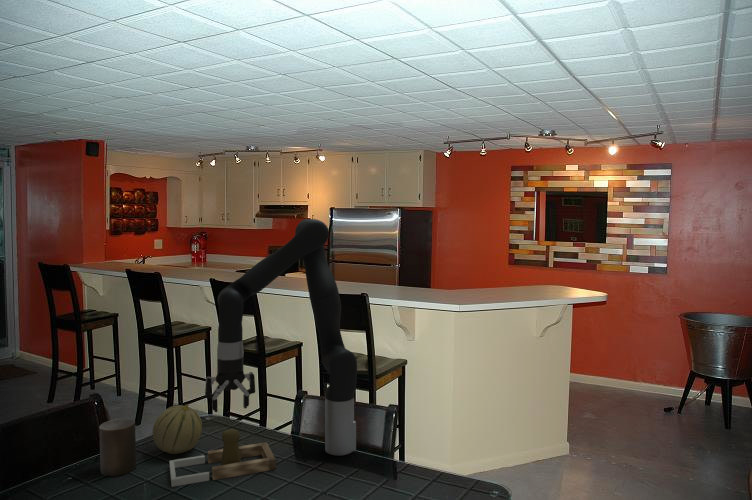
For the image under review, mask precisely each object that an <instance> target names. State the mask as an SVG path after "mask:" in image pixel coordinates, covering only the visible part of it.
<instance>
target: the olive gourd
mask: <svg viewBox="0 0 752 500" xmlns="http://www.w3.org/2000/svg"><path fill="white" fill-rule="evenodd" d="M240 437H241V435H240V432H239V430H237V429H234V428H233V429H231V428H229V429H226V430H225V431H223V432H222V435H221V440H222V442H223V446H222V447H223V448H222V449H223V453H222V461H221V462H220V463H221V464H220V465H227V464H233V463H239V462H242V461H241V459H242V458H240V452H239V446H240V444H239V440H240Z"/></svg>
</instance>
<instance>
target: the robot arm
mask: <svg viewBox="0 0 752 500" xmlns="http://www.w3.org/2000/svg"><path fill="white" fill-rule="evenodd" d="M329 236H330V231H329V227H328V226H327V224H326V223H325V222H323V221H321V220H320V219H315V218H305V219H302V220H301V221H300V222H299V223H298V224H297V225H296V228H295V232H294V236H293V237H292V238H291V239H290V240H289V241H288V242H287V243H286V244H285V245H283V246H281V248H278V249H277V250H276V251H274V252H273V253H271V254H269V255H267V256H265V258H263V259H261V260H260V261H258V262H257V263H255V265H253V266H252V267H251V268H249V269H248V270H247V271H246V272H245V273H244V274H243V275H241V276H240V277H239V278H237V279H235V280H234V281H233V282H231V283H230V284H228V285H227V286H226V287H224V288H223V289H222V290H221V291H220V292H219V294H218V296H217V299H216V300H217V301H216V302H217V304H218V319H219V323H218V326H217V327H218V328H217V348H216V349H217V350H216V351H217V352H216V357H217V360H216V361H217V362H216V364H217V367H216V369H217V370H216V376H209V375H208V376H206V377H205V390H204V392H205V393H204V395H205V398H206V399H209V400H211V409H212V411H214V413H218V398H219V396H220V395H221V394H222V393H223V392H224V391H225V392H227V391H237V389H239V390H240V391H241V392H242V393H243V395H242V397H243V399H242V401H243V402H242V403H243V409H247V408H248V407H249V405H250V395H252V394H255V393H256V383H255V382H256V381H255V380H256V379H255V374H254V372H252V371H250V372H248V373H244V354H245V352H244V344H243V332H244V331H243V316H244V315H243V314H244V302H246V300H248V299H249V298H251V297H252V296H253V295H257V294H258V293H260V292H262V291H263V290H264V289H265V288H266V287H268V286H269V285H270V284H271V283H272V282H273V281H275V280H276V279H277V278H278V277H279V276H280V275H282V274H283V273H284V272H285V271H286V270H288V269H289V268H291V266H293V265H294V264H296V263H297V262H299V261H300V260H301V259H302V261H303V264H304V270H305V277H306V284H307V289H308V290H307V291H308V296H309V301H310V304H311V309H312V313H313V317H314V318H313V319H314V320H315V321H314V322H315V326H316V328H317V334H318V338H319V344H320V345H319V346H320V353H321V354H320V355H321V362H322V366H323V367H324V369H325V371H326V372H327V373H329V380H328V381H329V382H328V385H329V386H327V387H326V388H325V392H324V395H325V396H324V400H325V401H324V404H325V405H324V409H325V410H324V411H325V412H324V422H325V423H324V424H325V425H324V440H325V441H324V448H325V449H324V450H325V452H326V453H327V454H329V455H332V456H345V455H349V454H352V453H353V452H356V451H357V421H356V420H355V392H356V389H357V377H358V360H357V358H356V355H355V354H354V353H353V352H352V351H351V350H349V349H347V348H346V346H345V343H344V340H343V337H342V333H341V316H342V303H341V302H342V301H341V298H340V291H339V288H338V285H337V282H336V280H335V278H334V275H333V272H332V269H331V268H330V266H329V263H328V260H327V256H326V252H325V244H326V243H327V242H328V241H329V240H328V239H329ZM245 379H246V380H247V381H248V382H249V388H248V389H246V387H245V386H244V384H243V382H244V381H245ZM215 382H216V383H217V384H218V385H217V386H216V387H215V390H214V391H213V393H212V392H211V391H212V390H211V389H212V385H214V383H215Z"/></svg>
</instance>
